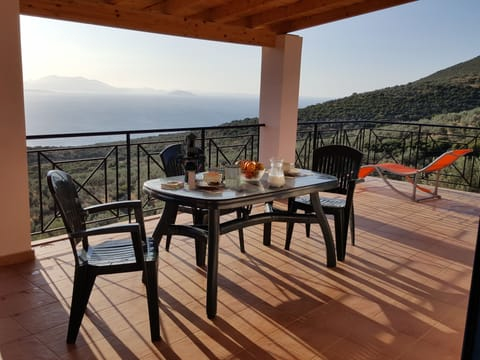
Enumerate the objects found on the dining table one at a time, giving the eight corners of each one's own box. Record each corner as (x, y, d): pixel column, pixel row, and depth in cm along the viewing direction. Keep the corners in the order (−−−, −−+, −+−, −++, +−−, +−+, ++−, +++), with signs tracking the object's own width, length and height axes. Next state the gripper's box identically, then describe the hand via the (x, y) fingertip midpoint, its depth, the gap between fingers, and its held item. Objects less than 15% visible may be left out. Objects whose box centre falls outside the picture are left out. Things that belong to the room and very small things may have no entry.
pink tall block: (188, 187, 285) (188, 172, 283) (194, 187, 285) (194, 171, 284) (188, 188, 280) (188, 173, 278) (194, 188, 281) (194, 173, 279)
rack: (170, 184, 291) (170, 180, 290) (184, 186, 287) (184, 181, 286) (161, 188, 280) (161, 183, 279) (174, 189, 276) (174, 185, 275)
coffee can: (223, 184, 294) (224, 164, 291) (239, 184, 296) (239, 163, 293) (226, 188, 284) (226, 166, 281) (241, 187, 286) (242, 166, 283)
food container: (228, 182, 303) (228, 168, 301) (224, 183, 297) (224, 169, 295) (211, 180, 307) (211, 166, 305) (207, 182, 301) (208, 168, 299)
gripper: (176, 142, 285) (176, 161, 277) (205, 142, 288) (206, 161, 279) (177, 152, 294) (177, 172, 286) (205, 152, 297) (205, 171, 288)
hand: (191, 169), depth 284 cm, fingers open, 9 cm apart
